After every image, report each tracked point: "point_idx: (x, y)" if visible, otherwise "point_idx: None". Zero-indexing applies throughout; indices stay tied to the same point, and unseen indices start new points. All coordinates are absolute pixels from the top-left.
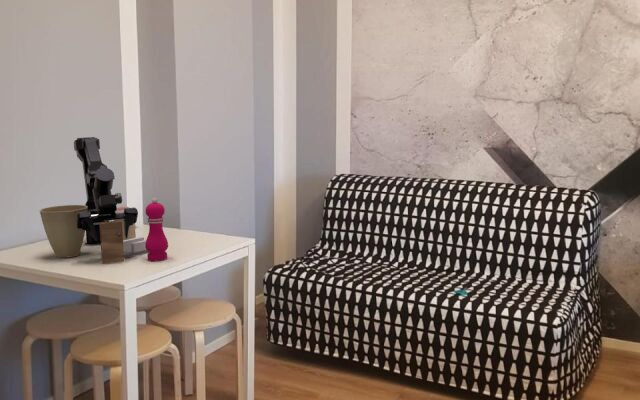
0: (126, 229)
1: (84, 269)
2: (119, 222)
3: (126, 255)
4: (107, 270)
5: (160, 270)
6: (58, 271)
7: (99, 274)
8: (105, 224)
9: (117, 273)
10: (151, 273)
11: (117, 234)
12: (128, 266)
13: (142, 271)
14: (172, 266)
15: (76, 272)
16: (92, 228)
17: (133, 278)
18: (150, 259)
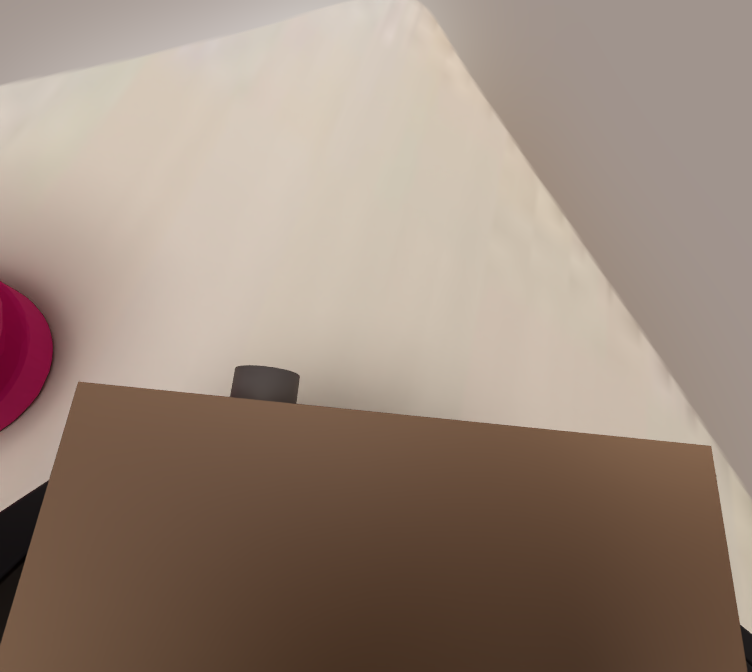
0: (16, 539)
1: (538, 374)
2: (177, 399)
3: None
4: (420, 262)
5: (143, 62)
6: (676, 421)
7: (478, 208)
8: (575, 440)
9: (387, 165)
10: (222, 46)
11: (296, 374)
12: (273, 273)
13: (247, 112)
14: (17, 88)
15: (585, 331)
16: (748, 651)
17: (344, 33)
18: (45, 323)
